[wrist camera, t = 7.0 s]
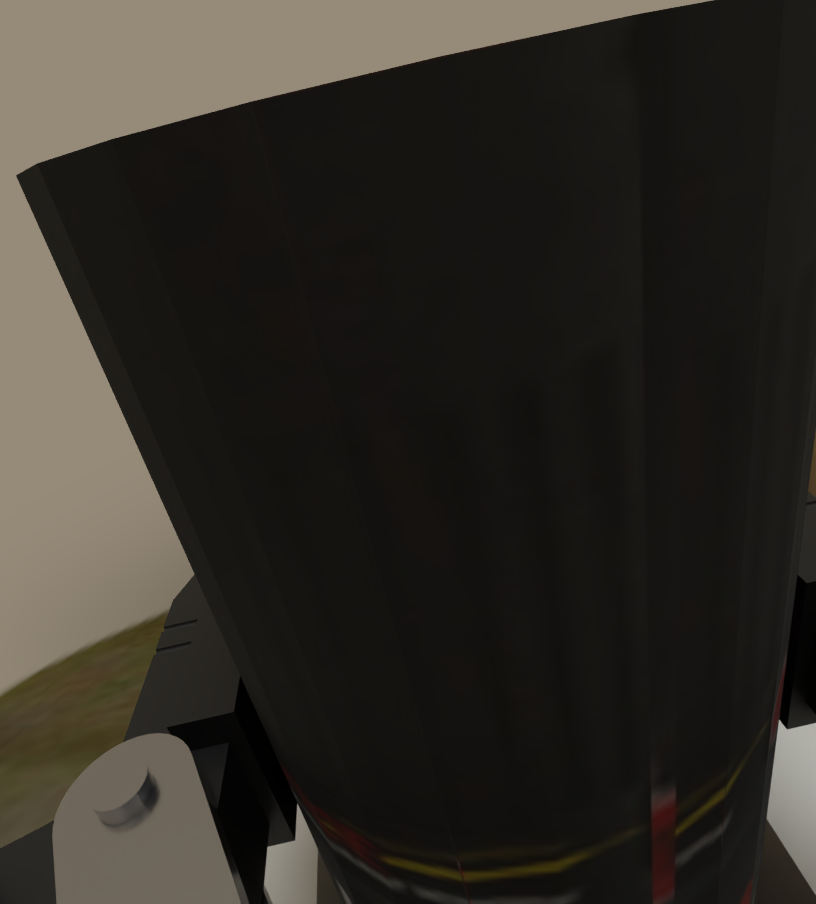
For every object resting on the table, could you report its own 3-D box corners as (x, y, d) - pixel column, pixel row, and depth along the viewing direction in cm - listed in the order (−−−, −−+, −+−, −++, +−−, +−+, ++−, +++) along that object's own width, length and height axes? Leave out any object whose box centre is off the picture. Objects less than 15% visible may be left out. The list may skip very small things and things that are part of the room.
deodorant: (347, 1008, 12) (-69, 205, 5) (520, 778, 16) (405, 112, 9) (637, 1373, 8) (483, -16, 1) (783, 954, 12) (957, -24, 5)
